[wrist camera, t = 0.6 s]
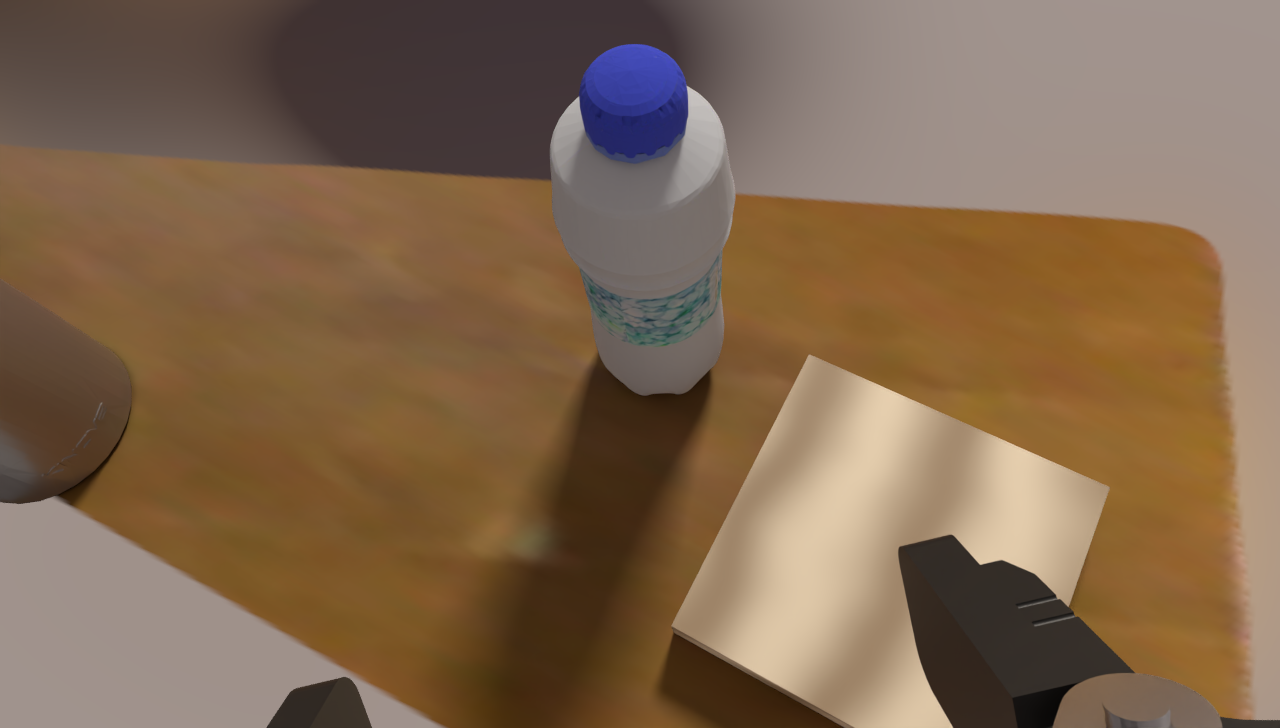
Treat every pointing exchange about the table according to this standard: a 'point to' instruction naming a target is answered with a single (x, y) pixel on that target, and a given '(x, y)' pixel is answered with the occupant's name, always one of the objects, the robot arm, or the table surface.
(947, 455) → the birch stand
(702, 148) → the bottle
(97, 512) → the table surface
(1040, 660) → the robot arm
